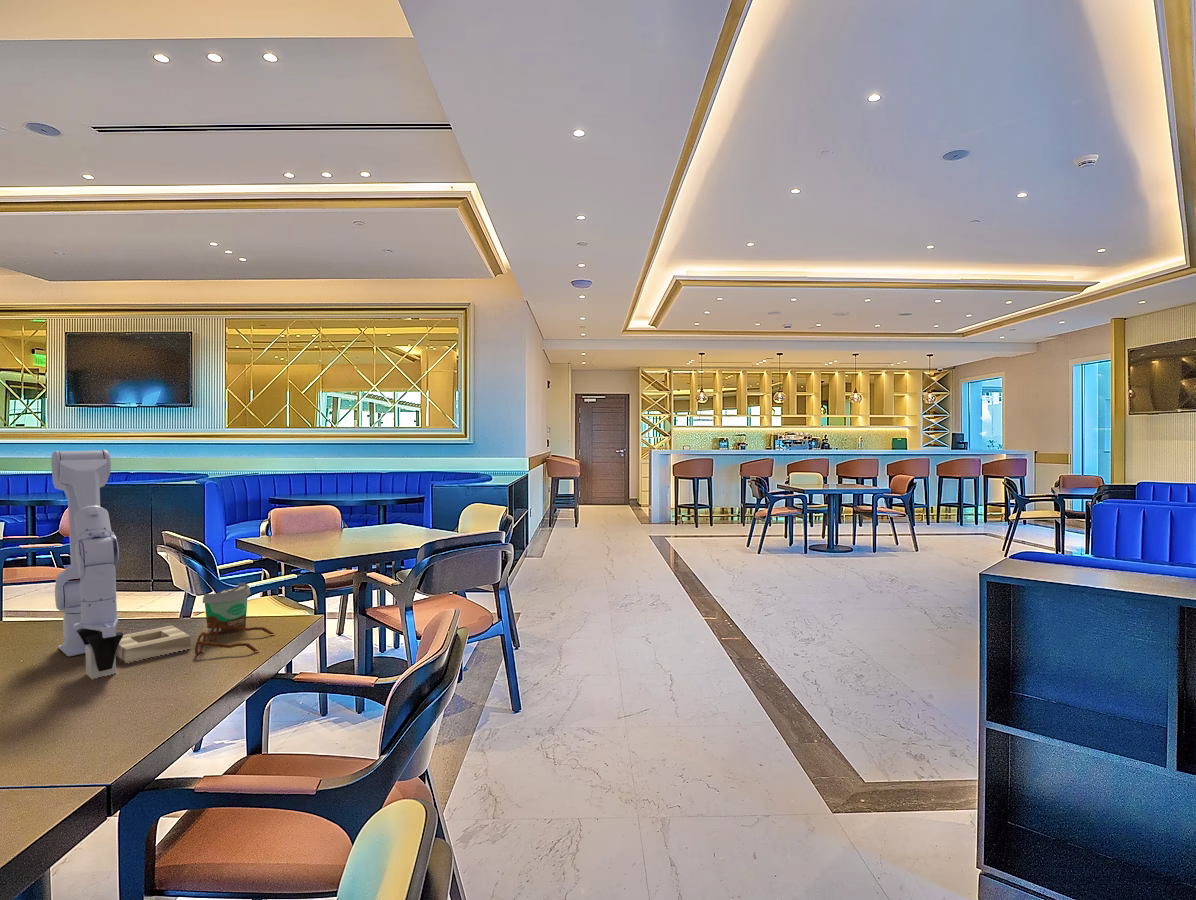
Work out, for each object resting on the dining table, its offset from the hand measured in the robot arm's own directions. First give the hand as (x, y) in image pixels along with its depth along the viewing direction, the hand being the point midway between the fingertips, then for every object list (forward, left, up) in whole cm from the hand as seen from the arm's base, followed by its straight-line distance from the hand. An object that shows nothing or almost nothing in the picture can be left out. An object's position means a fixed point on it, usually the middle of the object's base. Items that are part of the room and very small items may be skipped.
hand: (100, 666), depth 134 cm
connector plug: (0, 0, -2) cm, 2 cm away
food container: (-11, +29, -2) cm, 31 cm away
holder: (-9, +11, -2) cm, 14 cm away
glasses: (+2, +25, -2) cm, 25 cm away
